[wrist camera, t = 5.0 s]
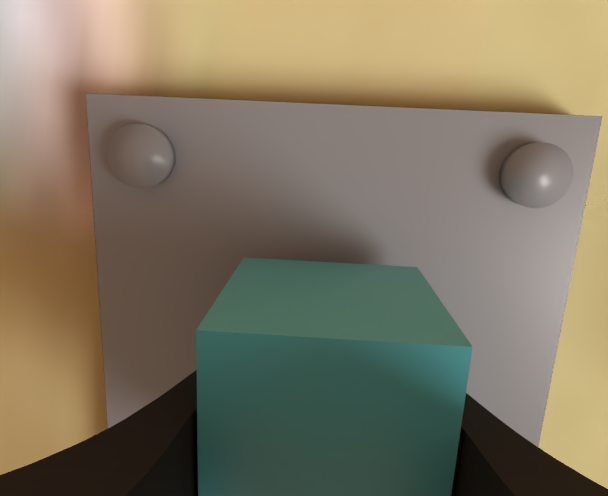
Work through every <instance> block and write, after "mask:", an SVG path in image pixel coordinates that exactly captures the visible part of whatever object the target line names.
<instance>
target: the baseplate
mask: <svg viewBox="0 0 608 496" xmlns="http://www.w3.org/2000/svg"><path fill="white" fill-rule="evenodd" d="M86 106H87V122H88V137H89V152H90V167H91V182H92V197H93V213H94V228H95V243H96V258H97V273H98V289H99V304H100V319H101V334H102V349H103V364H104V380H105V395H106V410H107V425H108V428H110V427H112V426H114V425H115V424H117V423H119V422H121V421H122V420H124V419H126V418H127V417H129V416H130V415H132V414H134V413H135V412H137V411H138V410H140V409H141V408H143V407H144V406H146V405H148V404H149V403H151V402H152V401H154V400H155V399H157V398H158V397H160V396H161V395H163V394H164V393H165V392H167V391H168V390H170V389H171V388H172V387H174V386H175V385H177V384H178V383H179V382H181V381H182V380H183V379H185V378H186V377H187V376H189V375H190V374H191V373H193V372H194V371H195V370H197V361H196V330H197V328H198V327H199V325H200V324H201V322H202V320H203V319H204V317H205V316H206V314H207V313H208V311H209V310H210V308H211V307H212V305H213V304H214V302H215V301H216V299H217V298H218V296H219V295H220V293H221V291H222V290H223V288H224V287H225V285H226V284H227V282H228V281H229V279H230V278H231V276H232V275H233V273H234V272H235V270H236V269H237V267H238V266H239V264H240V263H241V261H242V259H243V258H244V257H245V258H263V259H281V260H299V261H317V262H335V263H353V264H371V265H389V266H407V267H418V269H419V270H420V272H421V273H422V275H423V276H424V277H425V279H426V280H427V282H428V283H429V285H430V286H431V287H432V289H433V290H434V292H435V293H436V295H437V296H438V298H439V299H440V300H441V302H442V303H443V305H444V306H445V308H446V309H447V311H448V312H449V313H450V315H451V316H452V318H453V319H454V321H455V322H456V324H457V325H458V326H459V328H460V329H461V331H462V332H463V334H464V335H465V337H466V338H467V339H468V341H469V342H470V344H471V345H472V347H473V349H472V356H471V362H470V369H469V376H468V383H467V390H466V393H467V394H468V395H470V396H471V397H472V398H473V399H475V400H476V401H477V402H478V403H479V404H481V405H482V406H483V407H484V408H486V409H487V410H488V411H489V412H491V413H492V414H493V415H494V416H496V417H497V418H498V419H500V420H501V421H502V422H504V423H505V424H506V425H507V426H509V427H510V428H512V429H513V430H514V431H516V432H517V433H518V434H520V435H521V436H523V437H524V438H525V439H527V440H528V441H530V442H531V443H533V444H534V445H535V446H537V447H538V445H539V440H540V435H541V430H542V424H543V419H544V414H545V409H546V404H547V399H548V393H549V388H550V383H551V378H552V373H553V368H554V363H555V357H556V352H557V347H558V342H559V337H560V332H561V326H562V321H563V316H564V311H565V306H566V301H567V296H568V290H569V285H570V280H571V275H572V270H573V265H574V259H575V254H576V249H577V244H578V239H579V234H580V229H581V223H582V218H583V213H584V208H585V203H586V198H587V192H588V187H589V182H590V177H591V172H592V167H593V162H594V156H595V151H596V146H597V141H598V136H599V131H600V125H601V120H602V116H584V115H561V114H539V113H517V112H494V111H472V110H449V109H427V108H404V107H382V106H360V105H337V104H315V103H292V102H270V101H248V100H225V99H203V98H180V97H158V96H135V95H113V94H91V93H86Z"/></svg>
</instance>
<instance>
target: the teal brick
mask: <svg viewBox="0 0 608 496" xmlns="http://www.w3.org/2000/svg"><path fill="white" fill-rule="evenodd" d="M472 349H473V347H472V345H471V344H470V342H469V341H468V339H467V338H466V337H465V335H464V334H463V332H462V331H461V329H460V328H459V326H458V325H457V324H456V322H455V321H454V319H453V318H452V316H451V315H450V313H449V312H448V311H447V309H446V308H445V306H444V305H443V303H442V302H441V300H440V299H439V298H438V296H437V295H436V293H435V292H434V290H433V289H432V287H431V286H430V285H429V283H428V282H427V280H426V279H425V277H424V276H423V275H422V273H421V272H420V270H419V269H418V267H407V266H389V265H371V264H353V263H335V262H317V261H299V260H281V259H263V258H245V257H244V258H243V259H242V261H241V263H240V264H239V266H238V267H237V269H236V270H235V272H234V273H233V275H232V276H231V278H230V279H229V281H228V282H227V284H226V285H225V287H224V288H223V290H222V291H221V293H220V295H219V296H218V298H217V299H216V301H215V302H214V304H213V305H212V307H211V308H210V310H209V311H208V313H207V314H206V316H205V317H204V319H203V320H202V322H201V324H200V325H199V327H198V328H197V330H196V361H197V444H198V496H451V493H452V486H453V479H454V472H455V466H456V459H457V452H458V445H459V438H460V431H461V424H462V417H463V411H464V404H465V397H466V390H467V383H468V376H469V369H470V362H471V356H472Z"/></svg>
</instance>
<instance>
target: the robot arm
mask: <svg viewBox="0 0 608 496" xmlns="http://www.w3.org/2000/svg"><path fill="white" fill-rule="evenodd" d="M0 496H198V444H197V370H195V371H194V372H193V373H191V374H190V375H189V376H187V377H186V378H185V379H183V380H182V381H181V382H179V383H178V384H177V385H175V386H174V387H172V388H171V389H170V390H168V391H167V392H165V393H164V394H163V395H161V396H160V397H158V398H157V399H155V400H154V401H152V402H151V403H149V404H148V405H146V406H144V407H143V408H141V409H140V410H138V411H137V412H135V413H134V414H132V415H130V416H129V417H127V418H126V419H124V420H122V421H121V422H119V423H117V424H115V425H114V426H112V427H110V428H108V429H106V430H104V431H102V432H100V433H99V434H97V435H95V436H93V437H91V438H89V439H87V440H85V441H83V442H81V443H79V444H77V445H74V446H72V447H70V448H67V449H65V450H63V451H60V452H58V453H56V454H53V455H51V456H49V457H46V458H44V459H42V460H39V461H37V462H35V463H32V464H30V465H27V466H24V467H22V468H19V469H16V470H13V471H11V472H8V473H5V474H2V475H0ZM451 496H608V489H606V488H604V487H603V486H601V485H599V484H597V483H595V482H594V481H592V480H590V479H588V478H586V477H585V476H583V475H581V474H580V473H578V472H576V471H575V470H573V469H571V468H570V467H568V466H566V465H565V464H563V463H561V462H560V461H558V460H556V459H555V458H553V457H552V456H550V455H549V454H547V453H546V452H544V451H543V450H541V449H540V448H538V447H537V446H535V445H534V444H533V443H531V442H530V441H528V440H527V439H525V438H524V437H523V436H521V435H520V434H518V433H517V432H516V431H514V430H513V429H512V428H510V427H509V426H507V425H506V424H505V423H504V422H502V421H501V420H500V419H498V418H497V417H496V416H494V415H493V414H492V413H491V412H489V411H488V410H487V409H486V408H484V407H483V406H482V405H481V404H479V403H478V402H477V401H476V400H475V399H473V398H472V397H471V396H470V395H468V394H467V393H466V397H465V404H464V411H463V417H462V424H461V431H460V438H459V445H458V452H457V459H456V466H455V472H454V479H453V486H452V493H451Z"/></svg>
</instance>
